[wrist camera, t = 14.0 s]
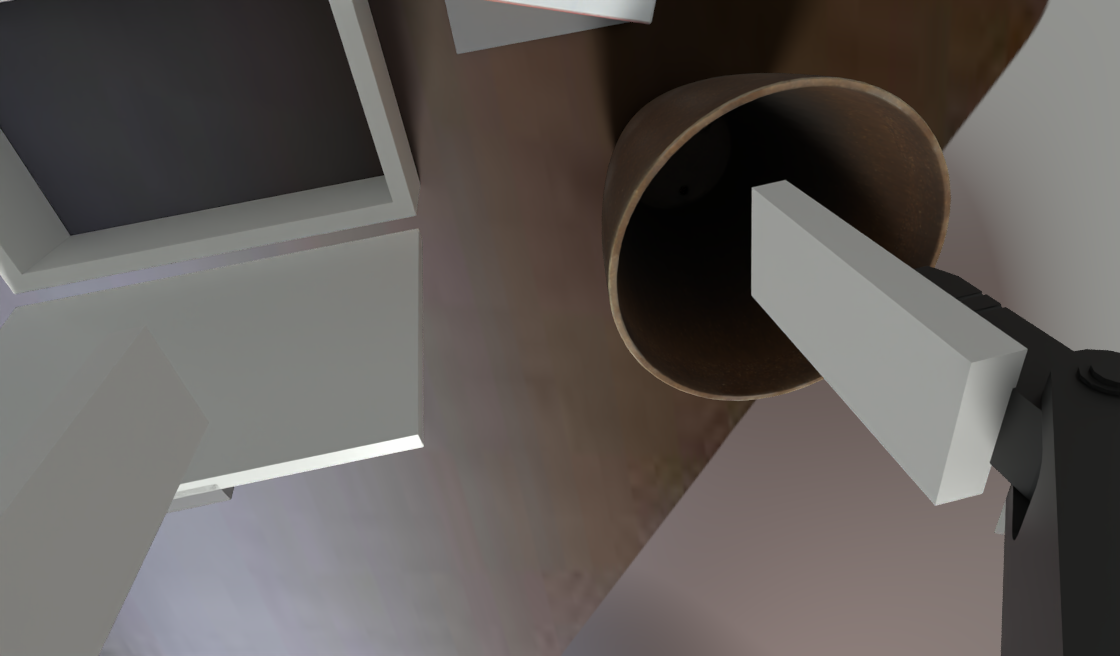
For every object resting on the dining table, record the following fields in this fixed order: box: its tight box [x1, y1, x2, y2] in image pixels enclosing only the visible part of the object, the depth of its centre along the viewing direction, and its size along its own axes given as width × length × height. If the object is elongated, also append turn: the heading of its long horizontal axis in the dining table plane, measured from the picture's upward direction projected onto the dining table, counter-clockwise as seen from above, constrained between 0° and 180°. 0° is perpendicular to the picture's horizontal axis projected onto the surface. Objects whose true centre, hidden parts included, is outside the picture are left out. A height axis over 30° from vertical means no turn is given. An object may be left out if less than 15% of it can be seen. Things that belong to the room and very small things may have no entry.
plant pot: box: [602, 73, 951, 401], centre depth 33 cm, size 15×15×16 cm
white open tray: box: [0, 0, 420, 294], centre depth 32 cm, size 22×14×5 cm, turn 98°
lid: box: [0, 228, 424, 513], centre depth 29 cm, size 22×14×2 cm
